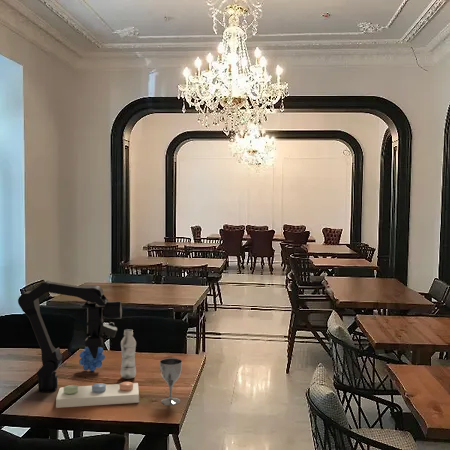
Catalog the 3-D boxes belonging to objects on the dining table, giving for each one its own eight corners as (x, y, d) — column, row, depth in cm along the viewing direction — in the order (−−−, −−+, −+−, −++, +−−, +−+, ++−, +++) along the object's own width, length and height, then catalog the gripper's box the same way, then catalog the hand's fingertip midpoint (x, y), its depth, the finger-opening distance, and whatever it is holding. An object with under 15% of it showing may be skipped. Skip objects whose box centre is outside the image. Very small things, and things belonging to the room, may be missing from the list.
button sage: (63, 402, 184) (63, 390, 184) (64, 396, 189) (64, 385, 189) (77, 401, 185) (77, 389, 185) (78, 396, 190) (78, 384, 190)
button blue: (91, 400, 186) (91, 388, 186) (92, 395, 191) (92, 383, 191) (105, 399, 187) (105, 387, 187) (106, 394, 192) (106, 382, 192)
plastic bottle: (121, 381, 208) (121, 332, 207) (119, 375, 214) (120, 328, 213) (136, 380, 209) (137, 331, 208) (135, 374, 216) (135, 328, 215)
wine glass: (182, 397, 191) (182, 357, 191) (180, 405, 183) (181, 364, 183) (160, 397, 191) (161, 357, 190) (158, 405, 183) (159, 364, 182)
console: (56, 407, 180) (56, 399, 180) (60, 395, 192) (60, 387, 192) (138, 402, 186) (138, 394, 186) (137, 390, 198) (137, 382, 198)
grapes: (108, 368, 223) (108, 341, 222) (102, 373, 216) (102, 346, 216) (83, 367, 225) (83, 340, 224) (76, 372, 218) (76, 344, 217)
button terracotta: (119, 398, 188) (119, 386, 188) (119, 393, 193) (119, 382, 193) (133, 397, 189) (133, 386, 189) (132, 392, 194) (132, 381, 194)
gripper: (115, 323, 190) (115, 364, 191) (116, 312, 209) (116, 350, 209) (84, 324, 188) (84, 366, 189) (88, 313, 207) (88, 351, 207)
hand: (94, 358), depth 199 cm, fingers closed
